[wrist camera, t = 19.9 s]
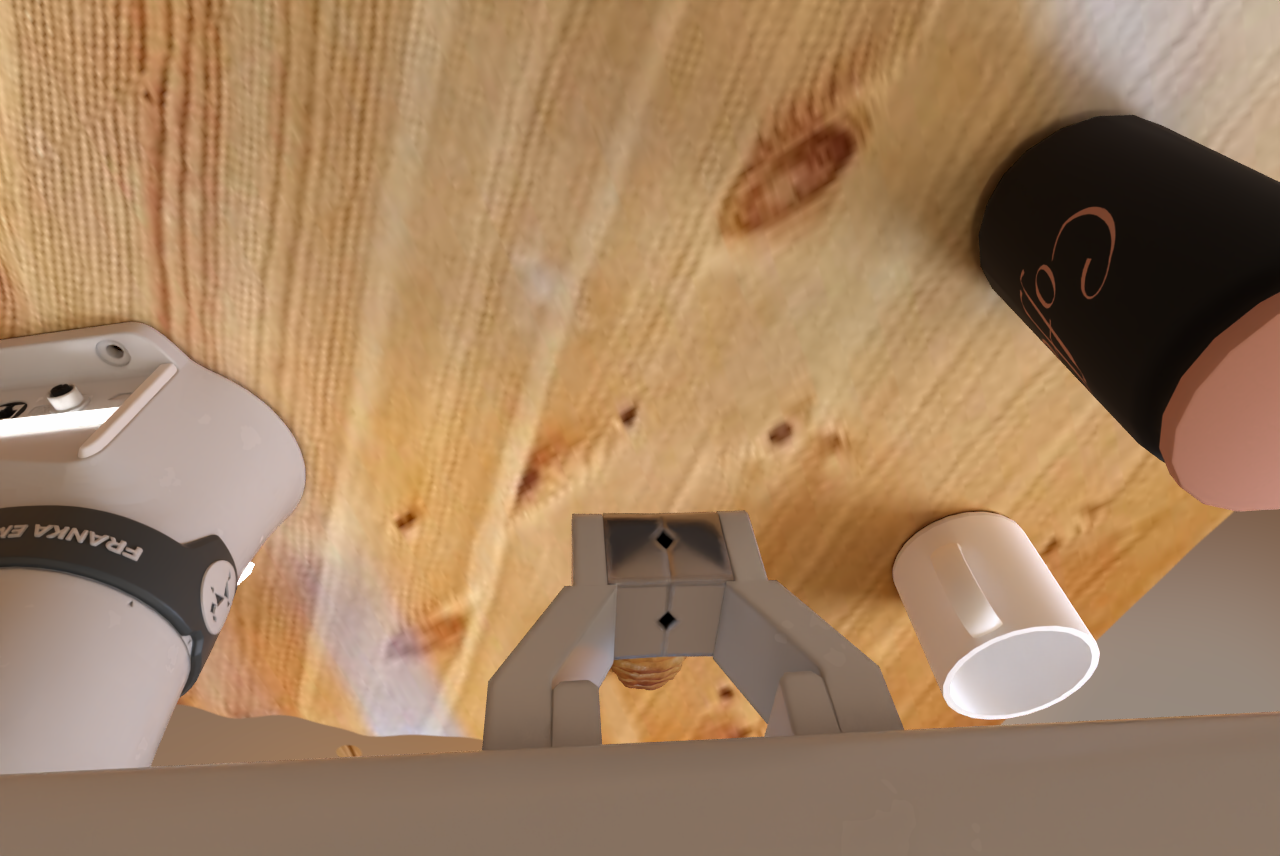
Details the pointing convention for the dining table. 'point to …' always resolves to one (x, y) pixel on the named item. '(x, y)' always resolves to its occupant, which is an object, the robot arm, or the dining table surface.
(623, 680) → the pastry
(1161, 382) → the coffee jar
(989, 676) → the mug
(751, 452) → the dining table surface
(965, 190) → the dining table surface
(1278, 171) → the dining table surface
